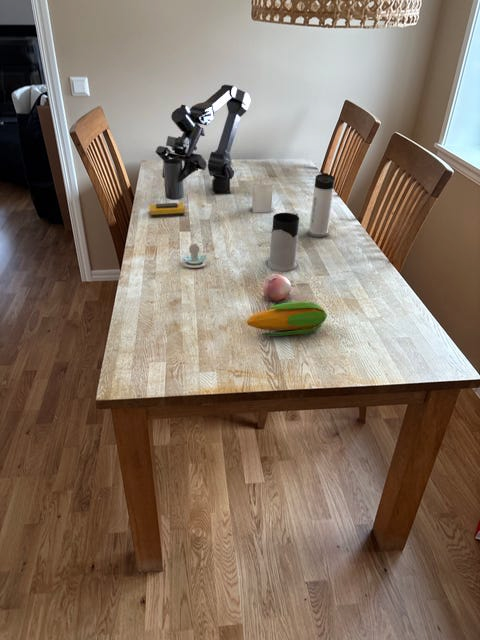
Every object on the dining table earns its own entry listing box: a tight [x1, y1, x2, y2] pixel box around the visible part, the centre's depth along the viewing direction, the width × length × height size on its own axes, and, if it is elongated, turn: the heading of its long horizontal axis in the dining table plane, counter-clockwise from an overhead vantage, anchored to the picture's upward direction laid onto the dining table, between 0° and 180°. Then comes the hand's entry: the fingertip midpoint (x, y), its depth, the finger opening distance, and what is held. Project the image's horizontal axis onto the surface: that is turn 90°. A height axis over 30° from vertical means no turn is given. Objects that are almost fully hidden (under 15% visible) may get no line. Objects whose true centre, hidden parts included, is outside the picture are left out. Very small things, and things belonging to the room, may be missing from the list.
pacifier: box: [181, 243, 207, 269], centre depth 146 cm, size 7×6×6 cm
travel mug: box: [308, 172, 336, 238], centre depth 163 cm, size 6×7×20 cm
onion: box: [262, 273, 292, 304], centre depth 132 cm, size 8×8×7 cm
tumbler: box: [162, 159, 185, 201], centre depth 172 cm, size 6×6×12 cm
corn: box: [246, 301, 328, 337], centre depth 119 cm, size 7×8×20 cm
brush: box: [149, 202, 186, 218], centre depth 178 cm, size 12×6×4 cm, turn 103°
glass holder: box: [267, 211, 300, 272], centre depth 148 cm, size 9×14×15 cm, turn 155°
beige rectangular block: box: [251, 183, 273, 213], centre depth 182 cm, size 4×7×10 cm, turn 93°
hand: (171, 179), depth 171 cm, fingers closed on tumbler, 6 cm apart
